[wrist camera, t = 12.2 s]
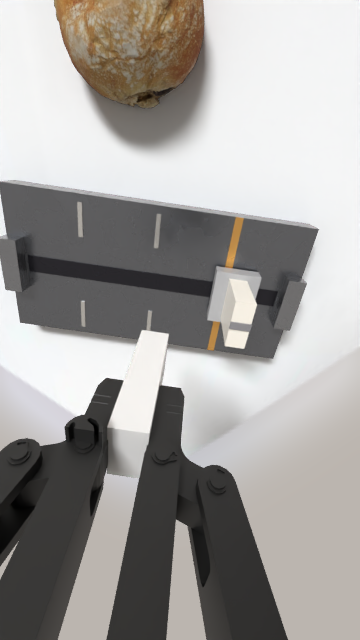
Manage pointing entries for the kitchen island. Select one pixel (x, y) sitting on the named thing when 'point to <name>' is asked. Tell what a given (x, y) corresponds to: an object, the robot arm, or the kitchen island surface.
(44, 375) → the kitchen island surface
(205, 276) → the console
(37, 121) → the kitchen island surface
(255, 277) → the fader
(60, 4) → the bread roll
